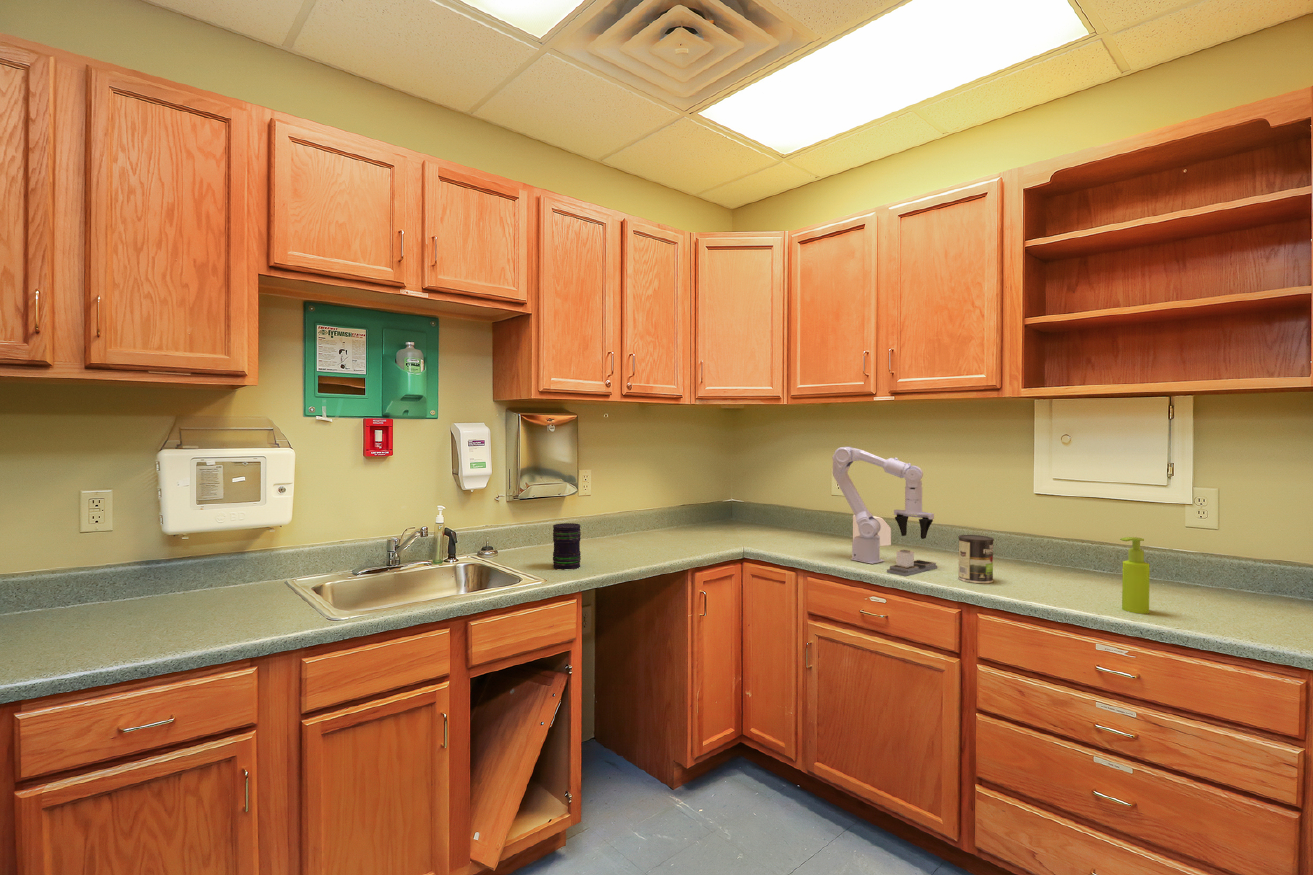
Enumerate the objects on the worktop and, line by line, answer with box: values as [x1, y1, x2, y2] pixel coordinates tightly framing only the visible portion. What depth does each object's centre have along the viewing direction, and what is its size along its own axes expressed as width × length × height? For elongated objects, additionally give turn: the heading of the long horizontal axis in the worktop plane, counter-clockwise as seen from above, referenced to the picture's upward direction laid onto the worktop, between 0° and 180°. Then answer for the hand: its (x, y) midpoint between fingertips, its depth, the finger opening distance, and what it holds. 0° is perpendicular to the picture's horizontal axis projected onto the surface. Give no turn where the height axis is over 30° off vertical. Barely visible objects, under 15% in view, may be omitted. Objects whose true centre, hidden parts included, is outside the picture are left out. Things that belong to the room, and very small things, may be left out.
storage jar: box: [552, 522, 582, 570], centre depth 224 cm, size 10×10×15 cm
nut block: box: [896, 549, 915, 569], centre depth 217 cm, size 4×4×6 cm
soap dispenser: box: [1119, 536, 1151, 615], centre depth 171 cm, size 6×7×20 cm
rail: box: [886, 559, 938, 577], centre depth 219 cm, size 7×20×2 cm, turn 127°
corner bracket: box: [852, 514, 892, 547], centre depth 270 cm, size 11×11×12 cm
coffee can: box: [958, 534, 995, 585], centre depth 206 cm, size 10×10×14 cm
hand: (913, 537), depth 227 cm, fingers open, 7 cm apart
